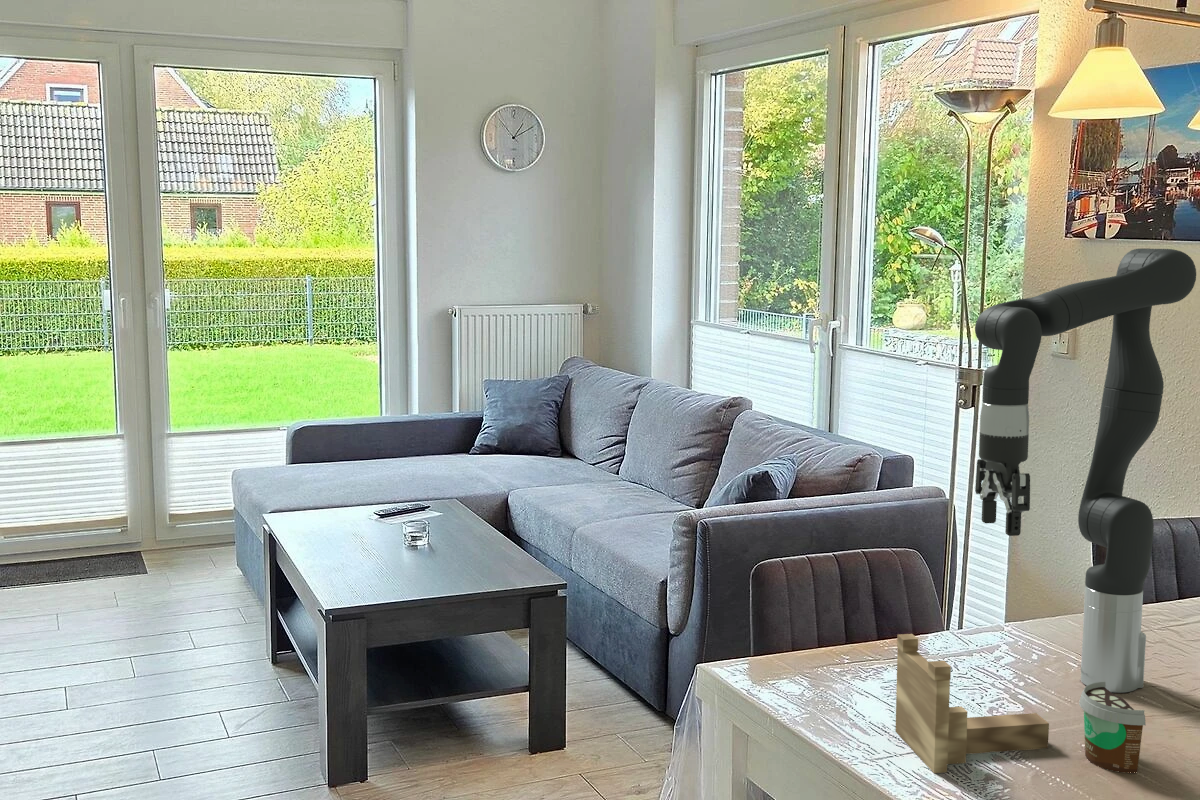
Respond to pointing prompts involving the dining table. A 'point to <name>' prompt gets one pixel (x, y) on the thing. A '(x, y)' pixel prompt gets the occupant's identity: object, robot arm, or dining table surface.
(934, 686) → the wooden post stand
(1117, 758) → the food container
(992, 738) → the rail
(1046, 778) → the dining table surface
